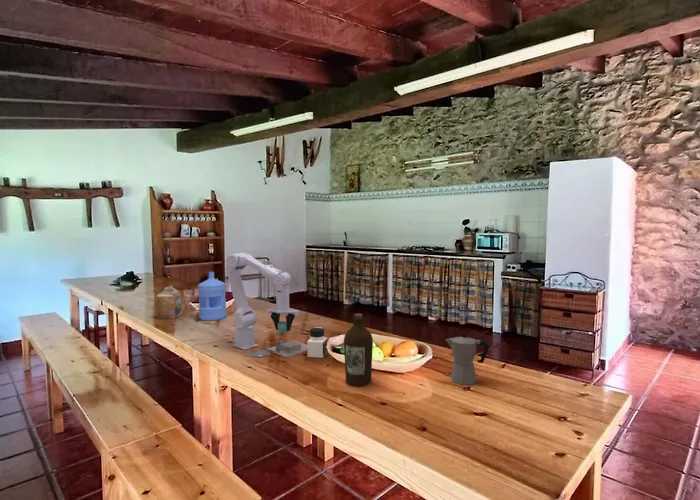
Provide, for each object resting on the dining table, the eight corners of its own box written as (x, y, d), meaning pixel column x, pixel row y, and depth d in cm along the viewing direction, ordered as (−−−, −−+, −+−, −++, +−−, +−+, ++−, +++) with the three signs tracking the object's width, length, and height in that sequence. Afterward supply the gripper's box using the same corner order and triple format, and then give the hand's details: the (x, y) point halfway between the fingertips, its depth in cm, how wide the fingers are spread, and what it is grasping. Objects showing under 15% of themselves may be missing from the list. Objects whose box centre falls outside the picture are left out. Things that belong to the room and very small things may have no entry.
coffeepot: (443, 382, 150) (443, 334, 149) (447, 373, 159) (447, 327, 158) (487, 388, 145) (488, 338, 143) (489, 378, 153) (490, 331, 152)
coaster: (245, 354, 183) (245, 353, 183) (262, 349, 190) (262, 348, 190) (257, 358, 177) (257, 357, 177) (274, 353, 184) (274, 352, 184)
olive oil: (349, 374, 159) (348, 310, 157) (376, 377, 155) (375, 312, 153) (340, 385, 148) (339, 316, 146) (368, 388, 145) (368, 318, 143)
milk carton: (174, 319, 248) (173, 288, 246) (157, 319, 248) (155, 288, 246) (182, 315, 258) (180, 285, 257) (165, 315, 258) (164, 285, 257)
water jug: (206, 314, 260) (205, 270, 258) (230, 315, 258) (229, 270, 256) (194, 320, 245) (192, 273, 242) (219, 321, 242) (217, 273, 240)
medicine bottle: (323, 358, 177) (322, 330, 176) (307, 357, 179) (306, 330, 178) (327, 352, 184) (327, 326, 183) (312, 351, 186) (311, 325, 185)
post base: (266, 350, 189) (266, 339, 188) (294, 342, 200) (294, 332, 200) (286, 357, 179) (285, 345, 179) (313, 348, 191) (313, 337, 190)
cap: (272, 334, 181) (272, 325, 181) (280, 329, 189) (280, 320, 188) (282, 335, 179) (282, 326, 179) (290, 330, 187) (290, 321, 187)
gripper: (263, 300, 183) (264, 330, 184) (293, 302, 178) (294, 333, 179) (271, 297, 189) (271, 326, 190) (300, 299, 185) (300, 329, 186)
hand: (283, 329), depth 185 cm, fingers closed on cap, 5 cm apart
